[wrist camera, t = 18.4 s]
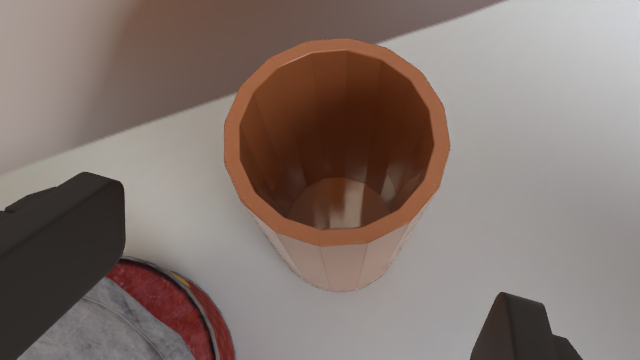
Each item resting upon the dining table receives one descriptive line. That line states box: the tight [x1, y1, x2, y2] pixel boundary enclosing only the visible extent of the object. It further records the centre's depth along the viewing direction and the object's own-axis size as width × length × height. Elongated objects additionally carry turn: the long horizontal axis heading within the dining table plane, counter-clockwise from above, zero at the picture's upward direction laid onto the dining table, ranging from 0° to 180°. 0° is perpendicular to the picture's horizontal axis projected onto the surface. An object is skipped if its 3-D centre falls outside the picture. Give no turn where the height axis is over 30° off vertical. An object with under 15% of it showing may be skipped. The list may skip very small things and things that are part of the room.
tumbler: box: [224, 38, 450, 292], centre depth 17 cm, size 6×6×11 cm
